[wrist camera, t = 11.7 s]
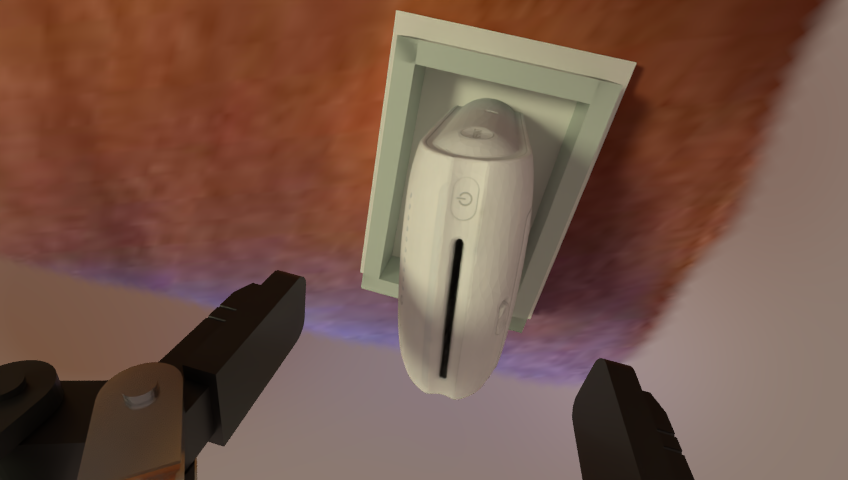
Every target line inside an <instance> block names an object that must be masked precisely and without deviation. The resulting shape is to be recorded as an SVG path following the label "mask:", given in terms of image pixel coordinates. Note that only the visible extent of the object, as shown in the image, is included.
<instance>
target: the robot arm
mask: <svg viewBox="0 0 848 480" xmlns="http://www.w3.org/2000/svg"><path fill="white" fill-rule="evenodd" d="M305 293H306V280H305V278H304V277H302V276H298V275H294V274H290V273H287V272H283V271H279V270H277V271H275V272H274V273H272V274H271V275H270V276H269V277H268V278H267V279H266V280H265V281H264V282H263V283H262V285H258V284H255V283H252V284H250V285H247V286H245V287H243V288H241V289H239V290H237V291H235V292H233V293H232V294H231V295H230V296H229V297H228V298H227V299H226V300H225V301H224V302H223V303H222V304H220V307H217V308H216V309H215V310H214V311H213V312H212V313H211V314H210V315H209V317H208V318H206V319H204V320H203V321H202V322H201V323H200V324H199V325H198V326H197V327H196V328H195V329H194V330H193V331H192V332H190V333H189V335H187V336H186V337H185V338H184V339H183V340H182V341H181V342H180V343H179V344H177V345H176V346H175V348H173V349H172V350H171V351H170V352H169V353H168V354H167V355H166V356H165V357H164V358H163V359H161V360H160V361H159V362H152V363H144V364H140V365H137V366H133V367H130V368H128V369H126V370H124V371H122V372H120V373H118V374H117V375H115V376H114V377H113V378H111V379H110V380H107V381H60V380H59V378H58V375H57V373H56V370H55V368H54V367H53V366H52V365H50V364H48V363H46V362H43V361H37V360H26V361H18V362H12V363H8V364H4V365H2V366H0V480H197V456H198V454H199V453H200V452H201V450H202V449H203V448H204V446H205V445H206V443H207V442H211V443H215V444H217V445H221V446H225V445H226V443H227V442H228V440H229V439H230V437H231V436H232V434H233V433H234V432H235V430H236V429H237V427H238V426H239V424H240V423H241V421H242V420H243V418H244V417H245V416H246V414H247V413H248V411H249V410H250V408H251V407H252V406H253V404H254V402H255V401H256V400H257V398H258V397H259V395H260V394H261V392H262V391H263V390H264V388H265V387H266V385H267V384H268V382H269V381H270V380H271V378H272V377H273V375H274V374H275V372H276V371H277V369H278V368H279V367H280V365H281V363H282V362H283V361H284V359H285V358H286V356H287V355H288V353H289V352H290V351H291V349H292V348H293V346H294V345H295V343H296V342H297V340H298V338H299V336H300V334H301V332H302V329H303V325H304V317H305ZM572 420H573V426H574V432H575V438H576V444H577V450H578V456H579V462H580V467H581V473H582V479H583V480H694V478H693V475H692V473H691V470H690V468H689V466H688V463H687V461H686V459H685V456H684V455H682V449H681V447H680V445H679V442H678V440H677V438H676V437H674V434H675V433H674V430H673V428H672V426H671V423H670V421H669V419H668V416H667V414H666V412H665V411H664V409H663V408H662V407H661V406H660V404H659V403H658V402H657V401H656V400H655V399H654V397H653V396H652V394H651V393H649V392H646V391H642V389H641V386H640V384H639V381H638V378H637V376H636V373H635V371H634V369H633V368H632V367H631V366H628V365H625V364H621V363H617V362H614V361H610V360H606V359H602V358H600V359H598V360H597V361H596V362H595V363H594V365H593V367H592V369H591V370H590V372H589V374H588V376H587V378H586V379H585V381H584V383H583V385H582V387H581V388H580V390H579V392H578V394H577V396H576V398H575V401H574V405H573V412H572Z"/></svg>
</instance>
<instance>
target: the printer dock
mask: <svg viewBox="0 0 848 480" xmlns="http://www.w3.org/2000/svg"><path fill="white" fill-rule="evenodd" d="M635 66H636V62H632V61H627V60H623V59H618V58H613V57H609V56H604V55H600V54H595V53H590V52H586V51H581V50H577V49H572V48H568V47H563V46H558V45H554V44H549V43H545V42H540V41H536V40H531V39H526V38H522V37H517V36H513V35H508V34H504V33H499V32H494V31H490V30H485V29H481V28H476V27H472V26H467V25H462V24H458V23H453V22H449V21H444V20H439V19H435V18H430V17H426V16H421V15H417V14H412V13H407V12H403V11H398V10H396V16H395V23H394V30H393V38H392V45H391V52H390V59H389V67H388V74H387V81H386V88H385V96H384V103H383V110H382V117H381V125H380V132H379V139H378V146H377V154H376V161H375V168H374V175H373V183H372V190H371V197H370V204H369V212H368V219H367V226H366V233H365V241H364V248H363V255H362V262H361V270H360V272H361V273H363V279H362V286H361V288H363V289H366V290H370V291H374V292H377V293H381V294H384V295H388V296H391V297H395V298H398V292H399V270H400V253H401V239H402V229H403V220H404V212H405V204H406V195H407V188H408V182H409V177H410V172H411V168H412V164H413V161H414V158H415V154H416V151H417V149H418V146H419V143H420V141H421V139H422V138H423V137H424V136H425V135H426V134H427V133H428V132H429V131H430V130H431V129H432V128H433V127H434V126H435V125H436V124H437V123H438V122H439V121H440V120H441V119H442V118H443V117H444V116H445V115H446V114H447V113H448V112H449V111H450V110H451V109H452V108H453V107H454V106H457V105H458V106H464V105H466V104H467V103H469V102H471V101H473V100H476V99H481V98H492V99H497V100H500V101H502V102H504V103H505V104H507V105H508V106H509V107H511V108H512V110H513V111H514V112H521V113H523V115H524V120H525V125H526V129H527V133H528V137H529V141H530V145H531V149H532V155H533V169H534V181H533V199H532V213H531V221H530V229H529V236H528V242H527V247H526V252H525V258H524V264H523V269H522V274H521V279H520V283H519V288H518V293H517V297H516V302H515V306H514V310H513V314H512V318H511V322H510V326H509V330H513V331H516V332H520V333H522V330H523V328H524V325H525V323H526V321H527V319H530V318H531V316H532V314H533V311H534V309H535V306H536V304H537V302H538V299H539V297H540V294H541V292H542V290H543V287H544V285H545V282H546V280H547V278H548V275H549V273H550V270H551V268H552V266H553V263H554V261H555V258H556V256H557V253H558V251H559V249H560V246H561V244H562V241H563V239H564V237H565V234H566V232H567V229H568V227H569V225H570V222H571V220H572V217H573V215H574V213H575V210H576V208H577V205H578V203H579V201H580V198H581V196H582V193H583V191H584V188H585V186H586V184H587V181H588V179H589V176H590V174H591V172H592V169H593V167H594V164H595V162H596V160H597V157H598V155H599V152H600V150H601V148H602V145H603V143H604V140H605V138H606V136H607V133H608V131H609V128H610V126H611V124H612V121H613V119H614V116H615V114H616V111H617V109H618V107H619V104H620V102H621V99H622V97H623V95H624V92H625V90H626V87H627V85H628V83H629V80H630V78H631V75H632V73H633V71H634V68H635Z"/></svg>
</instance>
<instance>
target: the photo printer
mask: <svg viewBox="0 0 848 480" xmlns="http://www.w3.org/2000/svg"><path fill="white" fill-rule="evenodd" d="M533 181H534V169H533V155H532V149H531V145H530V141H529V137H528V133H527V129H526V125H525V120H524V115H523V113H521V112H514V111H513V110H512V108H511V107H509V106H508V105H507V104H505V103H504V102H502V101H500V100H497V99H492V98H481V99H476V100H473V101H471V102H469V103H467V104H466V105H464V106H458V105H457V106H454V107H453V108H452V109H451V110H450V111H449V112H448V113H447V114H446V115H445V116H444V117H443V118H442V119H441V120H440V121H439V122H438V123H437V124H436V125H435V126H434V127H433V128H432V129H431V130H430V131H429V132H428V133H427V134H426V135H425V136H424V137H423V138H422V139H421V141H420V143H419V146H418V149H417V151H416V154H415V158H414V161H413V164H412V168H411V172H410V177H409V182H408V188H407V195H406V204H405V212H404V220H403V229H402V239H401V253H400V270H399V292H398V327H399V343H400V349H401V355H402V358H403V361H404V364H405V367H406V370H407V373H408V375H409V376H410V378H411V380H412V381H413V382H414V383H415V384H416V386H417V387H418V388H419V389H421V390H422V391H423V392H425V393H430V394H433V393H438V394H443V395H445V396H448V397H450V398H452V399H454V400H456V399H462V398H465V397H467V396H470V395H472V394H474V393H475V392H476V391H478V390H479V389H480V388H481V387H482V386H483V385H484V383H485V382H486V381H487V379H488V378H489V377H490V375H491V373H492V371H493V370H494V369H495V368H496V366H497V363H498V361H499V358H500V355H501V353H502V349H503V346H504V343H505V340H506V336H507V333H508V329H509V326H510V322H511V318H512V314H513V310H514V306H515V302H516V297H517V293H518V288H519V283H520V279H521V274H522V269H523V264H524V258H525V252H526V247H527V242H528V236H529V229H530V221H531V213H532V199H533Z"/></svg>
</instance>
